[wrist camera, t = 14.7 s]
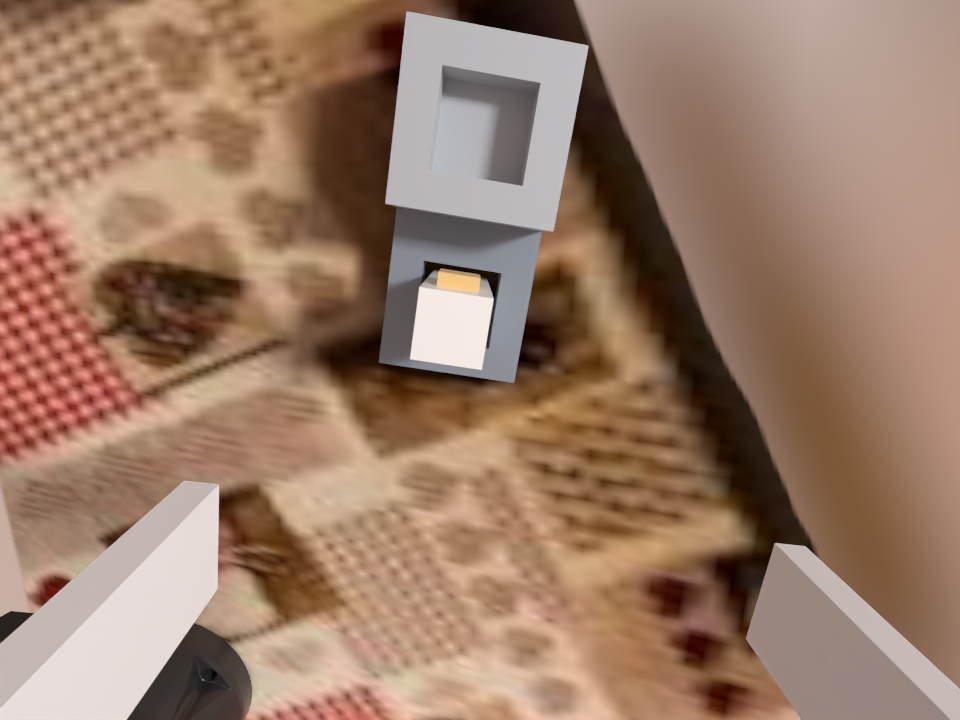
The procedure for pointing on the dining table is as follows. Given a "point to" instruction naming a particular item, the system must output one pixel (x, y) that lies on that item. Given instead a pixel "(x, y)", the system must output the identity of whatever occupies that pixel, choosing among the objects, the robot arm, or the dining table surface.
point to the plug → (452, 319)
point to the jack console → (476, 171)
